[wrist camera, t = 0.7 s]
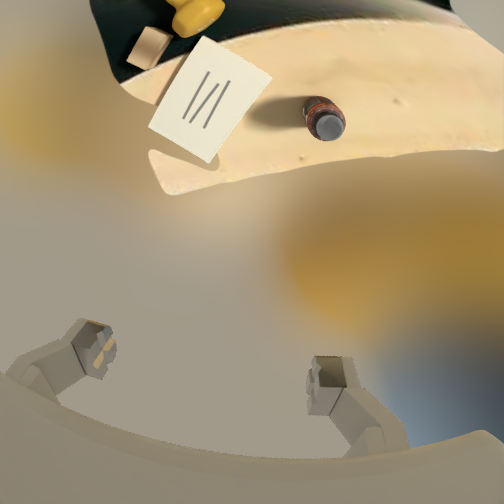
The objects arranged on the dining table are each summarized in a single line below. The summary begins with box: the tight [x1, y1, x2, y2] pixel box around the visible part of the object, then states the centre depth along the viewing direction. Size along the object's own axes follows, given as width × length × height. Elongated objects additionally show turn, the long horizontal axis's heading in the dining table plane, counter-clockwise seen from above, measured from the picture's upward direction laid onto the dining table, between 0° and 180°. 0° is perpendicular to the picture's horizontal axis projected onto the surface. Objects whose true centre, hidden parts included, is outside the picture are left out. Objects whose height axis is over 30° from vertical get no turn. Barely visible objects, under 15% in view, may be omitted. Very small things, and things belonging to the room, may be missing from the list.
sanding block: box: [127, 27, 173, 70], centre depth 36 cm, size 7×4×4 cm, turn 145°
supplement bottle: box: [303, 96, 346, 141], centre depth 40 cm, size 6×6×11 cm
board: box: [148, 36, 273, 163], centre depth 44 cm, size 20×14×2 cm
